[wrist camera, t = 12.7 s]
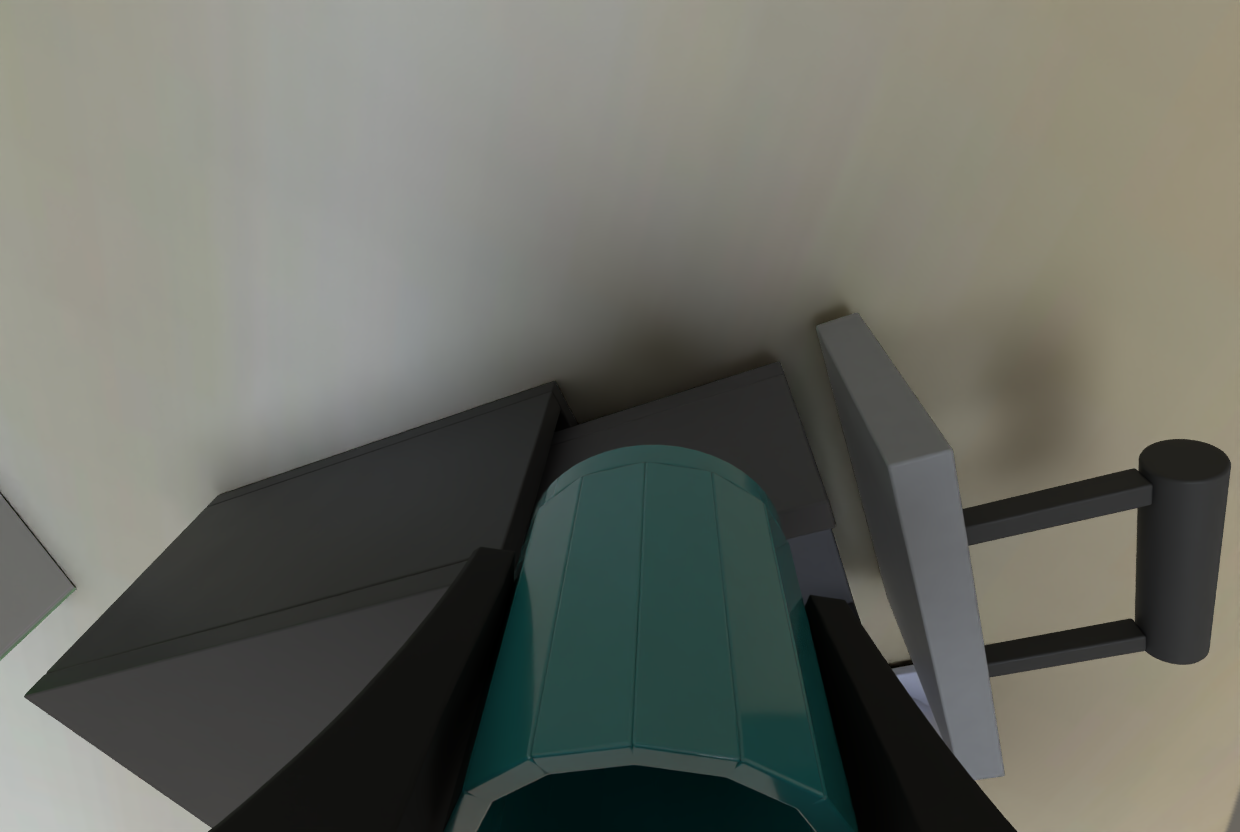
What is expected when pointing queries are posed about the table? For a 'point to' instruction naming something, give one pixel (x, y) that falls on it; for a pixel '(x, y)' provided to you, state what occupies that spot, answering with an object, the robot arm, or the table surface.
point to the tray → (25, 581)
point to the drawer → (939, 522)
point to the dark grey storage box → (295, 600)
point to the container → (653, 665)
